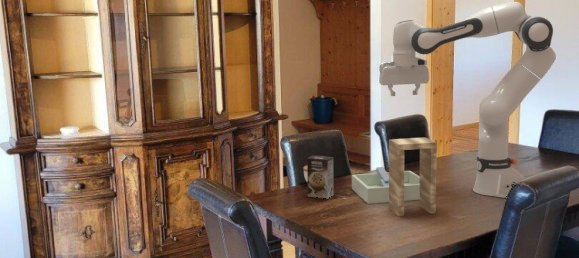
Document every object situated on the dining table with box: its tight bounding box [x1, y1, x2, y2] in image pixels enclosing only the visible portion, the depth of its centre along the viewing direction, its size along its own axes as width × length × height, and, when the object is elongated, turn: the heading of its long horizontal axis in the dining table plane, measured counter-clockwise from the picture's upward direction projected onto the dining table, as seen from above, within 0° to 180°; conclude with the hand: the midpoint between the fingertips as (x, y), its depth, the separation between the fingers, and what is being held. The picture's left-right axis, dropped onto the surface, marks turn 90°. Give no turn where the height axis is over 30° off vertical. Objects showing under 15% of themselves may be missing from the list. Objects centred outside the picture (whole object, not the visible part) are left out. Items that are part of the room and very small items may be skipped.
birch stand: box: [388, 136, 438, 217], centre depth 198 cm, size 14×10×26 cm
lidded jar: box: [302, 165, 308, 183], centre depth 239 cm, size 11×11×9 cm
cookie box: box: [306, 154, 334, 200], centre depth 221 cm, size 9×6×16 cm
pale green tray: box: [351, 170, 420, 205], centre depth 222 cm, size 26×22×6 cm
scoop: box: [375, 166, 389, 187], centre depth 225 cm, size 7×16×3 cm, turn 12°
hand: (404, 95), depth 223 cm, fingers open, 8 cm apart
